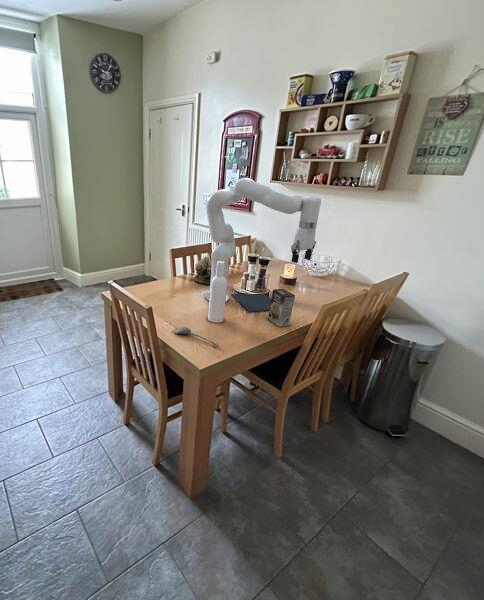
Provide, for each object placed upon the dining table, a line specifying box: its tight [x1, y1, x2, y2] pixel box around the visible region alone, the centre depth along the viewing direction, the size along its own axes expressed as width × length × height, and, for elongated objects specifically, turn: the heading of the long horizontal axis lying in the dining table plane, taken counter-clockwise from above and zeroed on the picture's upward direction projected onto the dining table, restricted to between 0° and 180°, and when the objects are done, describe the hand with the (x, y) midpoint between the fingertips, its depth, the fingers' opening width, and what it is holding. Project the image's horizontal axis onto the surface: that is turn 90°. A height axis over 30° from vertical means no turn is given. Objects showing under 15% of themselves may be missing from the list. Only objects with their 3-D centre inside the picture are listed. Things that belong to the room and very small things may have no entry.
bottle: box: [207, 261, 228, 324], centre depth 159 cm, size 8×8×30 cm
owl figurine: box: [193, 255, 212, 286], centre depth 212 cm, size 18×12×17 cm, turn 43°
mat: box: [230, 292, 272, 313], centre depth 185 cm, size 20×24×1 cm
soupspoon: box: [174, 326, 219, 347], centre depth 146 cm, size 22×3×7 cm
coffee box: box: [267, 288, 296, 327], centre depth 160 cm, size 9×6×16 cm
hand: (300, 260), depth 158 cm, fingers open, 9 cm apart
